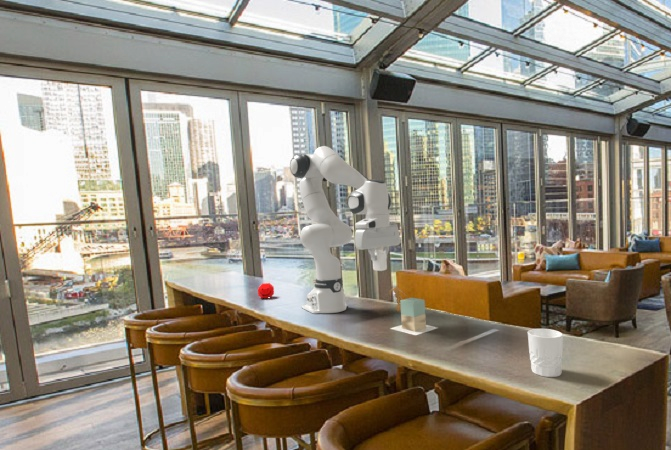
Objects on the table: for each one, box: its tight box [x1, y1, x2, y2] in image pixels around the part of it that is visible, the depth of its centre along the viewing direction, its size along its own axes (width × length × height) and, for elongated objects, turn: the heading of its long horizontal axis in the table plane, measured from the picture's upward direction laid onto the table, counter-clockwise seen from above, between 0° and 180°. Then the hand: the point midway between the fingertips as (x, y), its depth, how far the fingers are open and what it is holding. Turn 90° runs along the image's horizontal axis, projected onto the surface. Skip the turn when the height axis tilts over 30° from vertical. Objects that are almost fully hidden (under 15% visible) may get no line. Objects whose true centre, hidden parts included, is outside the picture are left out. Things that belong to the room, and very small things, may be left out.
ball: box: [257, 282, 275, 299], centre depth 217 cm, size 8×8×8 cm
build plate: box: [389, 324, 438, 336], centre depth 143 cm, size 12×12×1 cm
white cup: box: [527, 328, 564, 378], centre depth 102 cm, size 8×8×10 cm
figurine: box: [389, 284, 408, 313], centre depth 169 cm, size 8×6×12 cm
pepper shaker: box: [372, 247, 388, 272], centre depth 151 cm, size 4×4×10 cm
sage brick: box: [399, 297, 426, 317], centre depth 143 cm, size 6×6×5 cm
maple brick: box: [400, 313, 427, 332], centre depth 143 cm, size 6×6×5 cm
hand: (379, 259), depth 151 cm, fingers closed on pepper shaker, 4 cm apart
